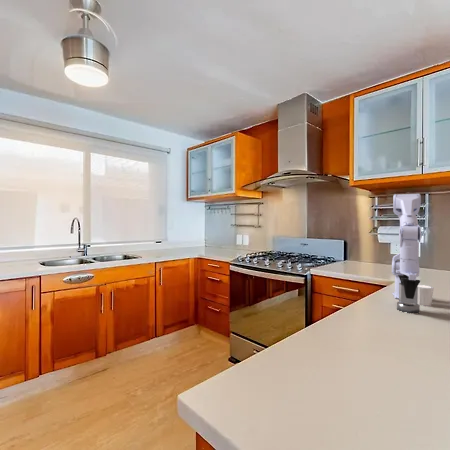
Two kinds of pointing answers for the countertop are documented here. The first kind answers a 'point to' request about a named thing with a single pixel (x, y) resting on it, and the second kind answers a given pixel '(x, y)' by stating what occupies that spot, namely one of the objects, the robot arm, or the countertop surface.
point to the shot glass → (425, 295)
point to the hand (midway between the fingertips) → (408, 296)
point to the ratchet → (408, 307)
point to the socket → (403, 297)
